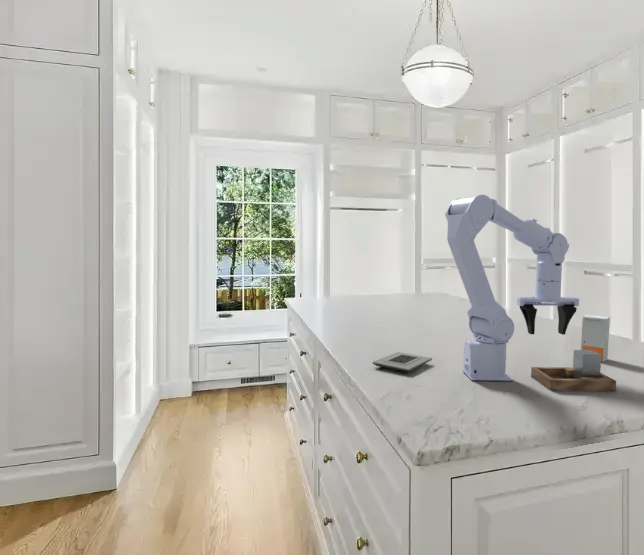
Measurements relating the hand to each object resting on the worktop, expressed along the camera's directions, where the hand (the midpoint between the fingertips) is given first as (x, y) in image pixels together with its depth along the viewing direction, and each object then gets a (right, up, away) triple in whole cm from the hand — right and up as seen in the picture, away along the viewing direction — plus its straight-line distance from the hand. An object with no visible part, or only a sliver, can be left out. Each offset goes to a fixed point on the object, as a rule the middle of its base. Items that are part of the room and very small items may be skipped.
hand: (546, 333), depth 111 cm
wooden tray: (0, -10, -10) cm, 15 cm away
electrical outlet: (-36, -10, +5) cm, 37 cm away
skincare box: (+19, -9, +11) cm, 24 cm away
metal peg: (+4, -10, -10) cm, 15 cm away
